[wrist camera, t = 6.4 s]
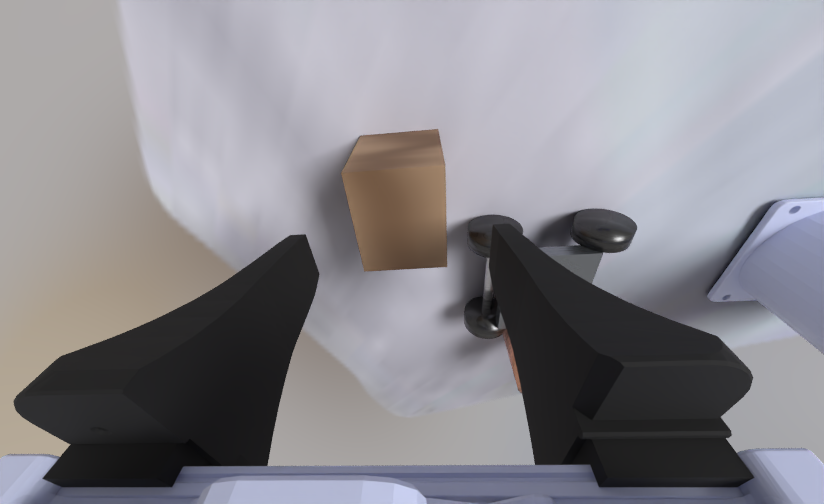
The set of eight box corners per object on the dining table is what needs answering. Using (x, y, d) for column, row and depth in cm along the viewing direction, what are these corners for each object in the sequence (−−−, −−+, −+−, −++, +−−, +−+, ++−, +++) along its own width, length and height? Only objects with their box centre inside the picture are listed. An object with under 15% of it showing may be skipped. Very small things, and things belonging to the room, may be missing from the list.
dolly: (618, 207, 18) (649, 235, 15) (582, 301, 23) (602, 334, 20) (464, 216, 18) (472, 245, 16) (461, 306, 23) (467, 339, 21)
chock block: (437, 128, 15) (445, 165, 11) (440, 214, 18) (447, 266, 14) (360, 135, 16) (341, 173, 12) (375, 218, 19) (364, 271, 15)
